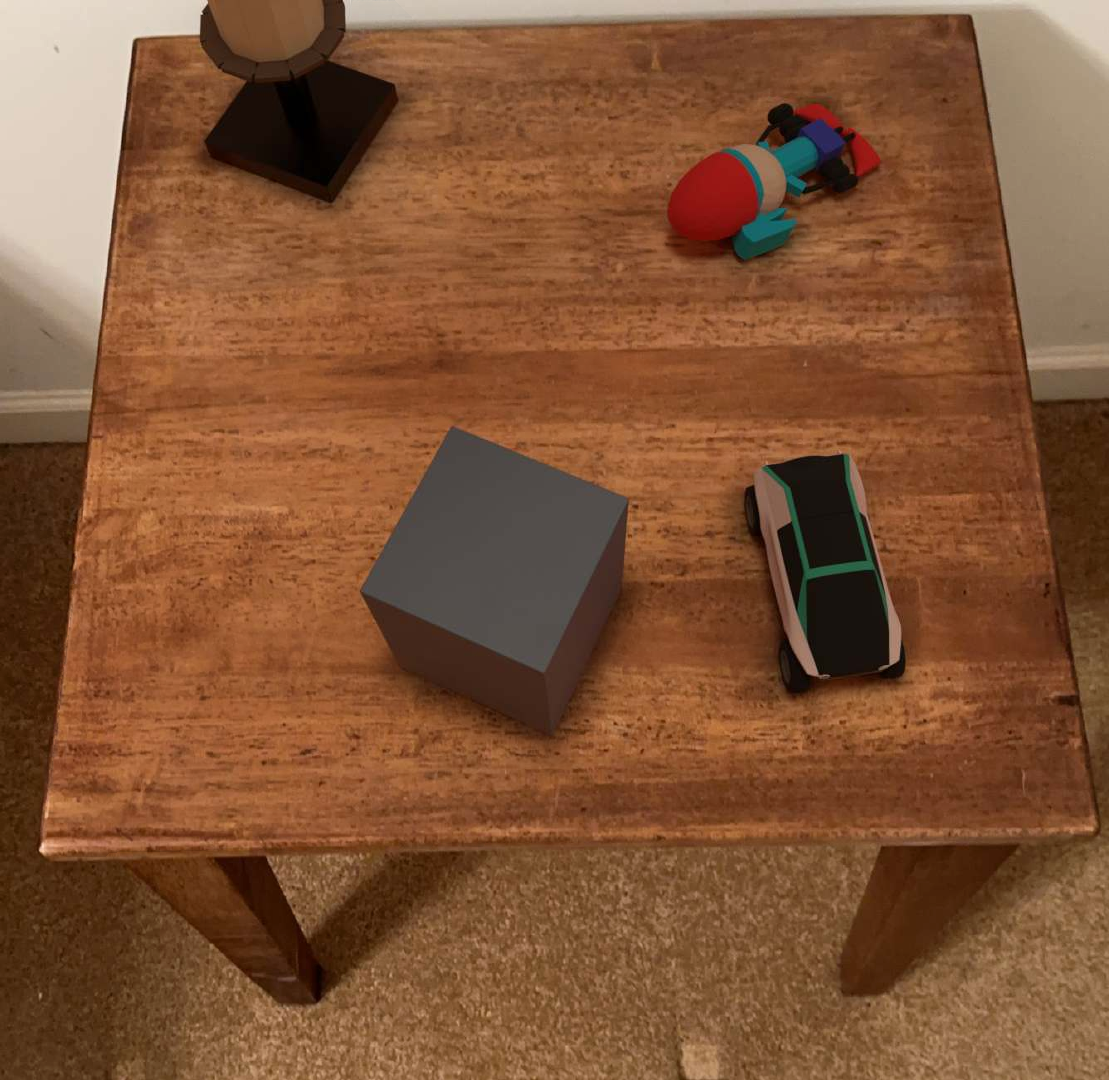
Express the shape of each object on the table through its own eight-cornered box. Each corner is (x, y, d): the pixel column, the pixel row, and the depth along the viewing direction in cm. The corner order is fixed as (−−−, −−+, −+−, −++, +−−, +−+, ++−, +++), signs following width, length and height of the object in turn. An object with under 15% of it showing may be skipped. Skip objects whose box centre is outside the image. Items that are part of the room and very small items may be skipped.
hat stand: (332, 203, 74) (268, 0, 60) (210, 157, 76) (118, -52, 61) (398, 100, 77) (354, -118, 63) (280, 58, 79) (209, -164, 64)
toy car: (843, 478, 66) (863, 434, 61) (897, 683, 62) (924, 654, 57) (739, 493, 66) (751, 451, 61) (786, 700, 62) (804, 672, 57)
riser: (552, 736, 61) (544, 674, 50) (399, 667, 63) (358, 591, 52) (622, 588, 64) (629, 497, 53) (474, 525, 66) (451, 424, 55)
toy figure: (801, 116, 78) (627, 206, 72) (828, 58, 73) (645, 150, 68) (877, 196, 76) (705, 295, 71) (910, 142, 72) (729, 242, 66)
